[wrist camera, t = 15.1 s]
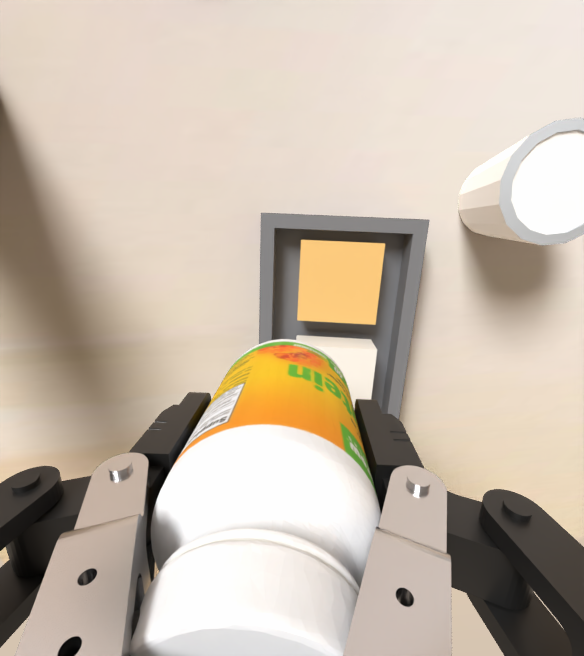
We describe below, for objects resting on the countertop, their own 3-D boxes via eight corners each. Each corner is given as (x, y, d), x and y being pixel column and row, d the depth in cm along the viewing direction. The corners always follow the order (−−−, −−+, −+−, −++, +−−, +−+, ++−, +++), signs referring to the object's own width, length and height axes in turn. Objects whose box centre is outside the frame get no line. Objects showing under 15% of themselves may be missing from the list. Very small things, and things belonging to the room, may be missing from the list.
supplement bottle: (374, 393, 14) (519, 733, 4) (289, 467, 15) (260, 854, 6) (281, 309, 13) (214, 508, 3) (200, 395, 14) (-9, 710, 5)
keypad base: (267, 215, 26) (261, 212, 23) (413, 222, 26) (429, 219, 22) (261, 521, 35) (255, 551, 32) (370, 530, 35) (376, 561, 31)
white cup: (432, 218, 26) (475, 211, 19) (485, 132, 24) (553, 91, 17) (502, 258, 26) (569, 265, 20) (559, 177, 24) (654, 155, 18)
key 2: (296, 335, 26) (295, 345, 23) (370, 339, 26) (377, 349, 23) (293, 401, 28) (291, 416, 25) (363, 405, 27) (368, 421, 25)
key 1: (301, 239, 25) (301, 239, 23) (377, 242, 25) (385, 243, 23) (298, 313, 27) (297, 320, 24) (369, 316, 27) (375, 324, 24)
